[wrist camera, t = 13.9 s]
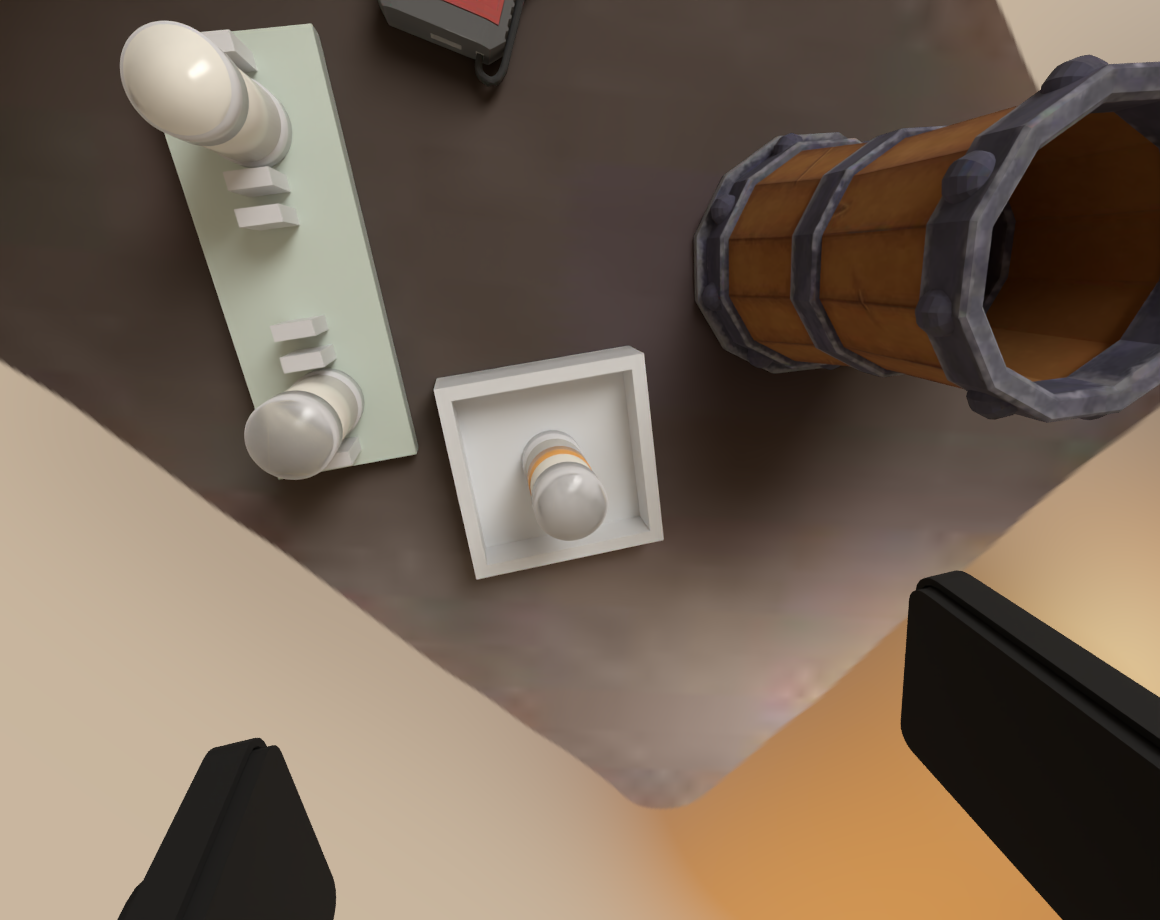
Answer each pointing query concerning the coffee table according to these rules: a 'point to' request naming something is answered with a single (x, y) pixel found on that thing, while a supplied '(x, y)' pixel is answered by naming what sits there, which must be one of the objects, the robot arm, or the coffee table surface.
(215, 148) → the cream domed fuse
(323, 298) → the board
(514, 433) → the tray
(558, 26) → the coffee table surface
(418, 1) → the red flat piece
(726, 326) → the mug
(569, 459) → the marked fuse
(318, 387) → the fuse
